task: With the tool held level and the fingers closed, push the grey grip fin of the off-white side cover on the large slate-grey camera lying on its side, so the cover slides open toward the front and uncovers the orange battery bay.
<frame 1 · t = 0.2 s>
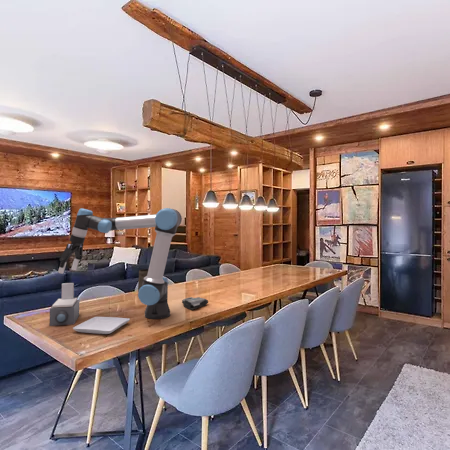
hand: (67, 271, 183), 27 cm above the table, tool tilted 15°, fingers open, 13 cm apart
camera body: (65, 320, 183), on the table
salad plate: (102, 329, 169), on the table
side cover: (65, 294, 182), point 15 cm above the table, slide at 0.0 cm
beer stein: (147, 296, 245), on the table
dark grey flat lump: (193, 306, 218), on the table
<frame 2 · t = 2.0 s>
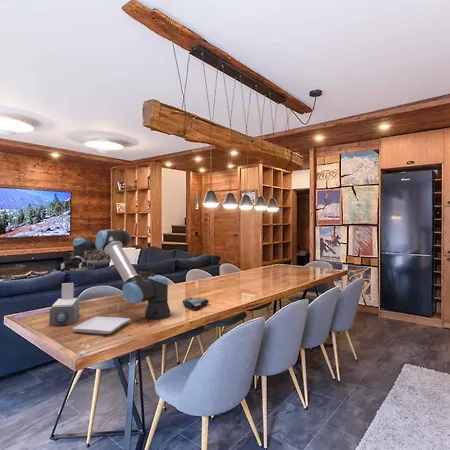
hand: (70, 266, 197), 28 cm above the table, tool horizontal, fingers open, 9 cm apart
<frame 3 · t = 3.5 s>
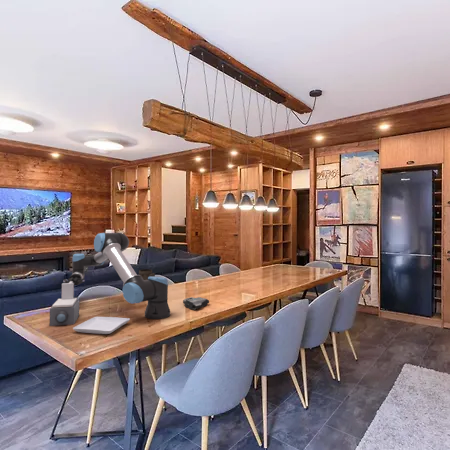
hand: (69, 285, 195), 17 cm above the table, tool horizontal, fingers closed
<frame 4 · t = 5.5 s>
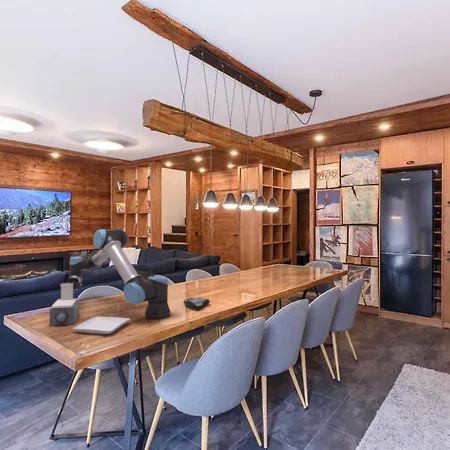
hand: (66, 289, 188), 16 cm above the table, tool horizontal, fingers closed
side cover: (64, 295, 181), point 15 cm above the table, slide at 1.6 cm, touching gripper
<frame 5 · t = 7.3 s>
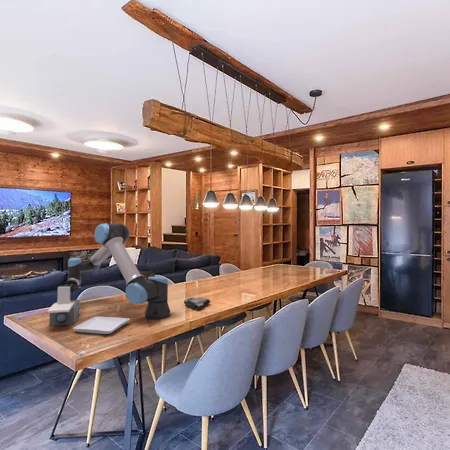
hand: (63, 293, 179), 16 cm above the table, tool horizontal, fingers closed
side cover: (61, 298, 172), point 15 cm above the table, slide at 10.9 cm
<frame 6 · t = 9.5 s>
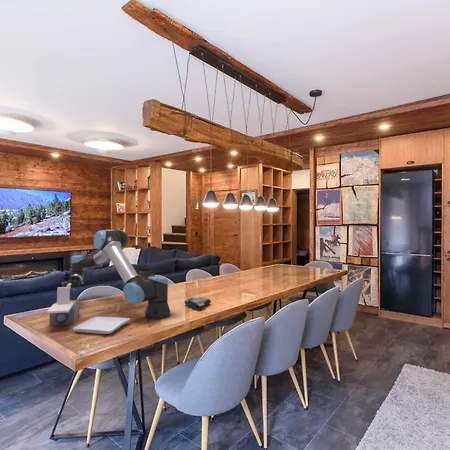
hand: (68, 287, 191), 17 cm above the table, tool horizontal, fingers closed
side cover: (61, 299, 171), point 15 cm above the table, slide at 11.8 cm
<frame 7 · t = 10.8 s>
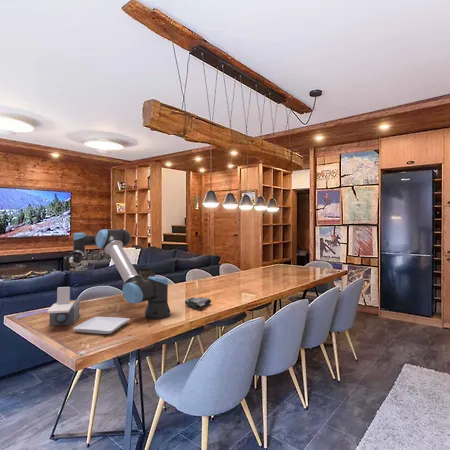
hand: (70, 260, 196), 32 cm above the table, tool horizontal, fingers closed
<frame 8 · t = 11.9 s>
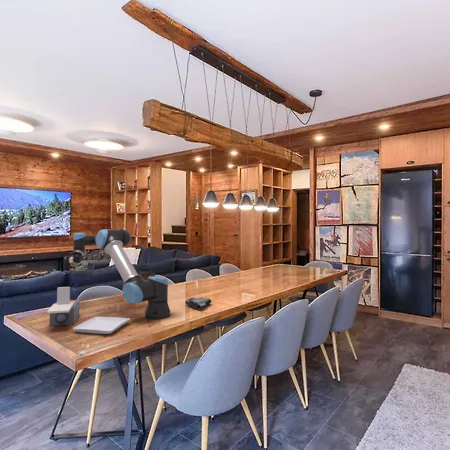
hand: (70, 260, 196), 32 cm above the table, tool horizontal, fingers closed
at the end: side cover slide at 11.8 cm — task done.
